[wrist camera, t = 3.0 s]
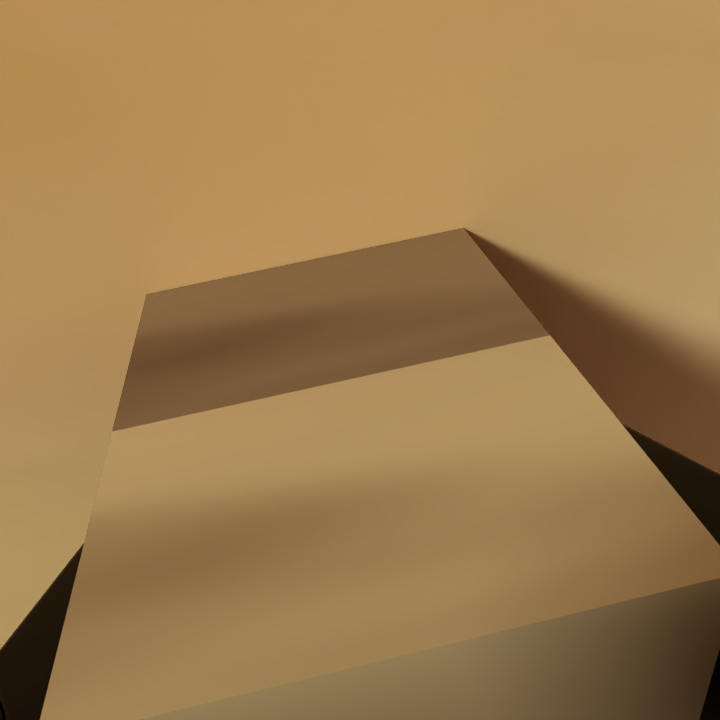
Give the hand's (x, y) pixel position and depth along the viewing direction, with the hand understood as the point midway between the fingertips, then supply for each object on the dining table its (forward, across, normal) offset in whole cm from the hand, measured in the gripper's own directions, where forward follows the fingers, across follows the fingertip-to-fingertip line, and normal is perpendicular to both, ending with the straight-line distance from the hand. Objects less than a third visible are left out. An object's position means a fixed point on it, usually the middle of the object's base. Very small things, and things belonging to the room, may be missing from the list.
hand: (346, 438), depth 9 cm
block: (+1, 0, 0) cm, 1 cm away
